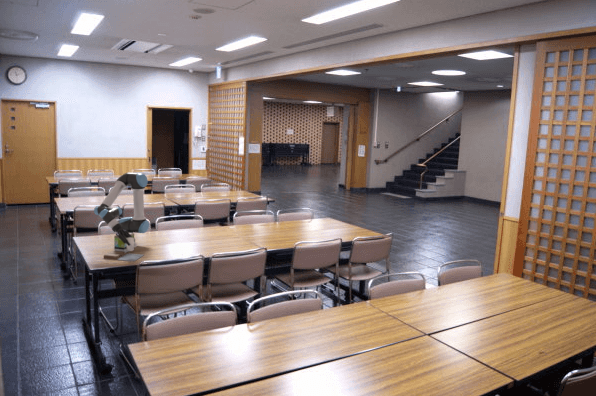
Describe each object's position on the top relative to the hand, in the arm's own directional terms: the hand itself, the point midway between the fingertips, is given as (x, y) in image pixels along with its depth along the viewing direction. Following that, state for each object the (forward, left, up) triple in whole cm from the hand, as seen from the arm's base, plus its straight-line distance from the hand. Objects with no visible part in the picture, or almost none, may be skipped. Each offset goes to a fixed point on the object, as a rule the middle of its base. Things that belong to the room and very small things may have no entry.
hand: (134, 247), depth 373 cm
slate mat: (-1, -3, -9) cm, 10 cm away
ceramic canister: (0, -4, -3) cm, 5 cm away
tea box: (-18, -17, -10) cm, 27 cm away
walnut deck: (-1, -18, -9) cm, 20 cm away
